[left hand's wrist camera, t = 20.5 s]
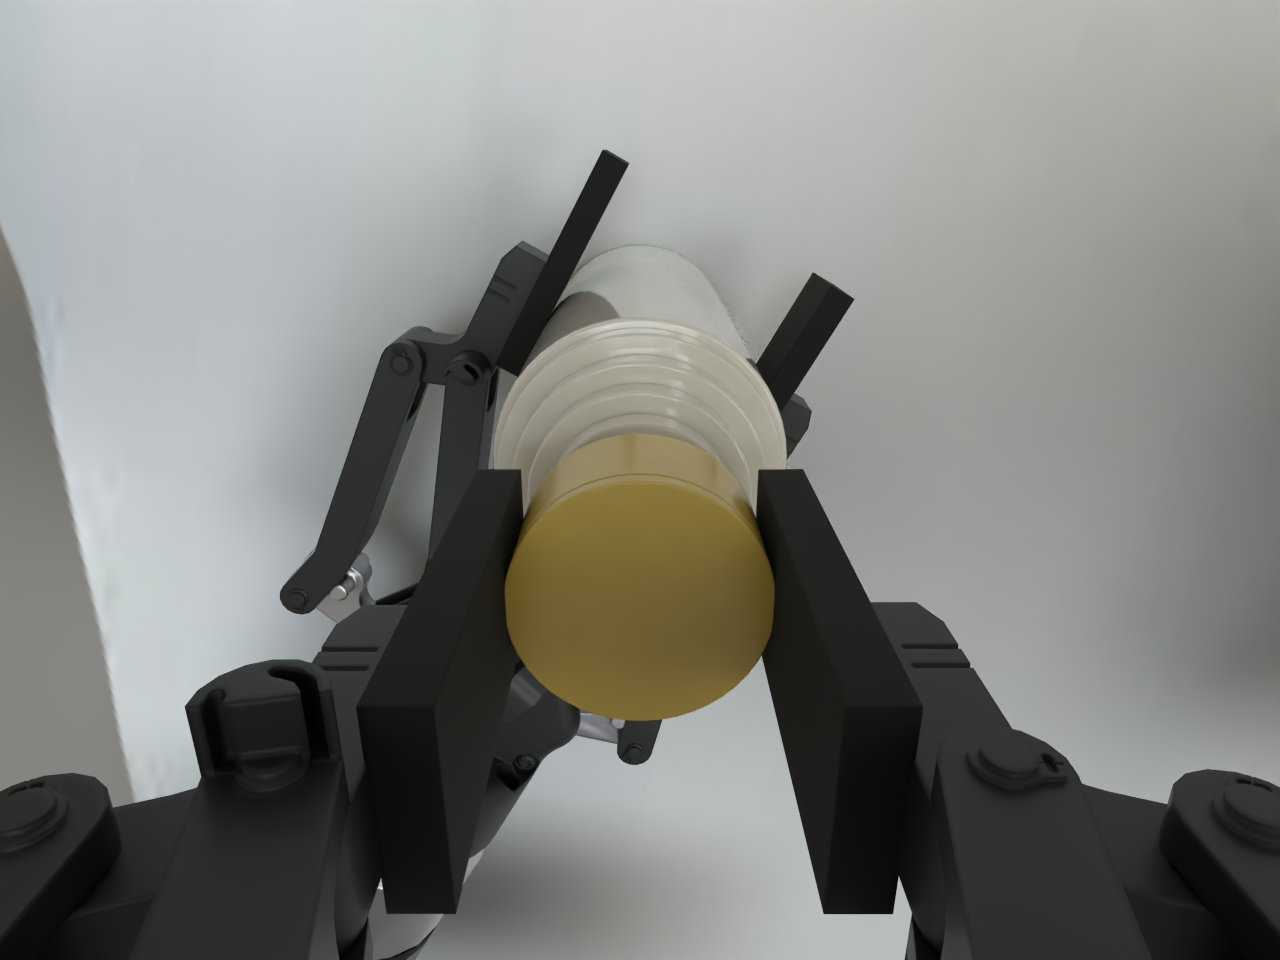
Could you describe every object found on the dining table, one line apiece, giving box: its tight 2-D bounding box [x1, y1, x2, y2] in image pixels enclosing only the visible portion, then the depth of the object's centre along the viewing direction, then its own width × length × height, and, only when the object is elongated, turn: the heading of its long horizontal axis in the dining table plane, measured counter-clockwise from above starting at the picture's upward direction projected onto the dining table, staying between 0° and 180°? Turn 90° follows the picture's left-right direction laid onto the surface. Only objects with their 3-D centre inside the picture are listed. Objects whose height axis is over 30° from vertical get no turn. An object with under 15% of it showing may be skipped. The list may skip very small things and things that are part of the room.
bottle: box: [493, 245, 787, 517], centre depth 22 cm, size 6×6×19 cm
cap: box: [505, 434, 775, 721], centre depth 14 cm, size 4×4×2 cm
